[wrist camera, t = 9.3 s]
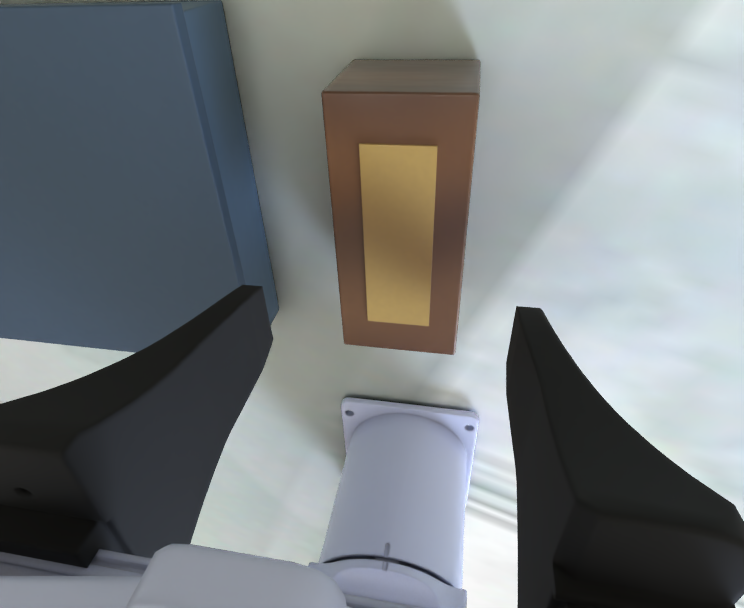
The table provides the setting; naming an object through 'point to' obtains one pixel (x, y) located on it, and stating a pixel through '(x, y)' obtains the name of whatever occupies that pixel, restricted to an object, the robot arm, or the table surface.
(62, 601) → the robot arm
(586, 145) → the table surface
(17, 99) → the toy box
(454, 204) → the plaque
